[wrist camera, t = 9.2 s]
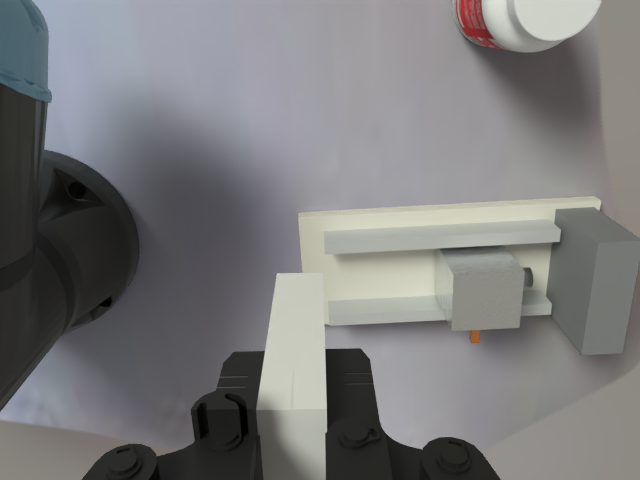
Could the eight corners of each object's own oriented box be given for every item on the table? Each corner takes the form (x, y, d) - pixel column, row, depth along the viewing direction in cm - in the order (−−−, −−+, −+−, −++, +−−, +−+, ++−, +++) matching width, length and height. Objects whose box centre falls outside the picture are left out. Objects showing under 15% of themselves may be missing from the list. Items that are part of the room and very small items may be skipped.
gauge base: (306, 318, 48) (304, 374, 40) (298, 212, 44) (294, 252, 36) (578, 304, 47) (628, 358, 40) (593, 196, 43) (652, 233, 36)
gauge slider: (434, 319, 46) (450, 360, 40) (436, 242, 43) (453, 275, 38) (513, 315, 46) (540, 356, 40) (520, 238, 43) (550, 270, 38)
